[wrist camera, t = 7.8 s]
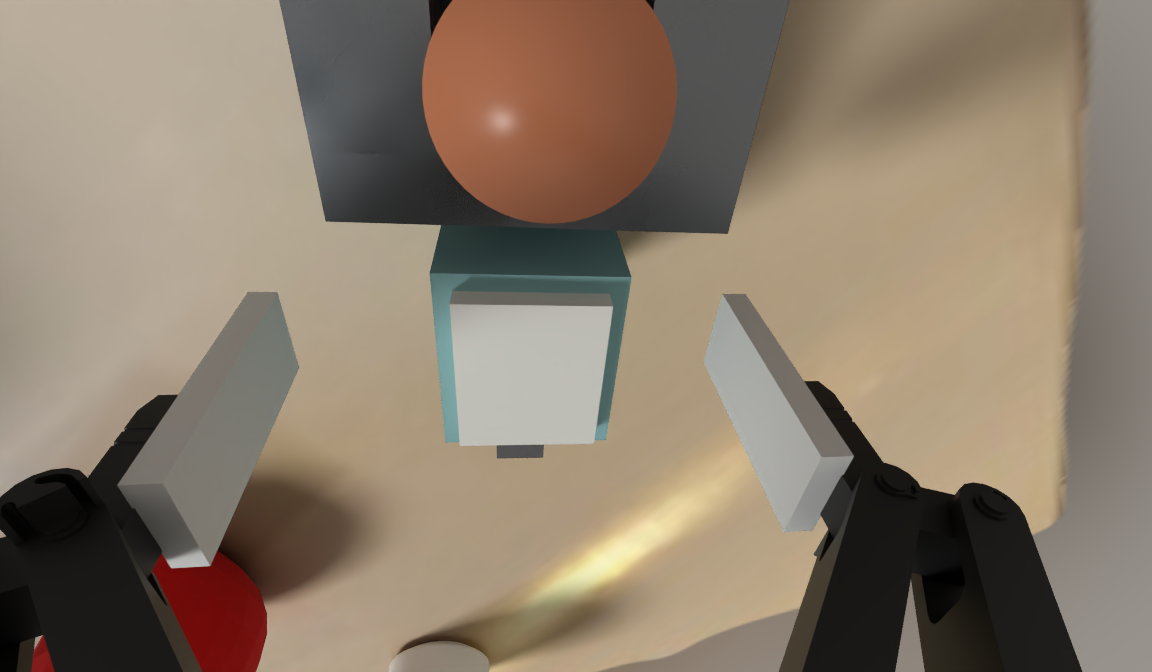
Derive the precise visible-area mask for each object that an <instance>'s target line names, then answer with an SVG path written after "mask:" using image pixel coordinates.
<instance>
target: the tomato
mask: <svg viewBox="0 0 1152 672" xmlns="http://www.w3.org/2000/svg"><path fill="white" fill-rule="evenodd" d="M152 572H153V573H154V575H155V576H156V577H157V579H158V581H159V583H160V585H161V588H162V590H163V592H164V594H165V596H166V598H167V600H168V602H169V604H170V606H171V608H172V610H173V612H174V614H175V616H176V618H177V620H178V622H179V624H180V627H181V629H182V631H183V633H184V635H185V637H186V639H187V641H188V643H189V645H190V647H191V649H192V651H193V653H194V655H195V657H196V659H197V661H198V663H199V666H200V668H201V670H202V672H256V670H257V667H258V664H259V661H260V658H261V654H262V651H263V647H264V643H265V639H266V635H267V612H266V609H265V606H264V603H263V600H262V597H261V594H260V591H259V589H258V588H257V587H256V585H255V584H254V583H253V582H252V581H251V579H250V578H249V577H248V576H247V575H246V573H245V572H244V571H243V570H242V569H241V567H239V566H238V565H237V564H235V563H234V562H233V561H231V560H230V559H229V558H227V557H226V556H225V555H223V554H222V553H221V552H219V551H218V550H217V552H216V554H215V557H214V559H213V561H212V563H211V566H203V567H186V568H171V567H170V565H169V564H168V562H167V561H166V559H165V558H164V556H163V555H162V553H161V555H160V557H159V558H158V560H157V562H156V564H155V566H154V568H153V570H152ZM31 672H54V668H53V665H52V662H51V658H50V655H49V652H48V649H47V645H46V642H45V639H44V635H43V636H42V637H41V639H40V641H39V643H38V644H37V646H36V647H35V649H34V653H33V662H32V671H31Z"/></svg>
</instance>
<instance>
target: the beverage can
mask: <svg viewBox="0 0 1152 672" xmlns="http://www.w3.org/2000/svg"><path fill="white" fill-rule="evenodd" d="M489 670H490V663H489V660H488V658H487V657H486V656H485V655H484V654H483V653H482V652H480V651H479V650H477V649H475V648H472V647H470V646H468V645H466V644H462V643H458V642H452V641H434V642H427V643H423V644H420V645H417V646H415V647H412V648H410V649H407V650H405V651H403V652H401V653H400V654H398V655H397V656H396V657H395V658H394V659H393V660H392V661H391V663H390V666H389V671H388V672H489Z"/></svg>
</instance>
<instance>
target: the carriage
mask: <svg viewBox="0 0 1152 672" xmlns="http://www.w3.org/2000/svg"><path fill="white" fill-rule="evenodd" d="M430 281H431V292H432V303H433V313H434V324H435V335H436V345H437V356H438V366H439V377H440V388H441V398H442V409H443V420H444V430H445V441H446V442H460V446H483V445H546V444H594V440H606V435H607V429H608V423H609V416H610V410H611V404H612V397H613V391H614V385H615V378H616V372H617V366H618V359H619V353H620V347H621V340H622V334H623V328H624V321H625V315H626V309H627V302H628V296H629V290H630V283H631V274H630V271H629V268H628V265H627V262H626V259H625V256H624V253H623V250H622V247H621V244H620V241H619V238H618V235H617V232H616V230H589V229H557V228H524V227H492V226H459V225H441V229H440V233H439V237H438V241H437V245H436V249H435V253H434V258H433V262H432V266H431V270H430Z"/></svg>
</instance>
